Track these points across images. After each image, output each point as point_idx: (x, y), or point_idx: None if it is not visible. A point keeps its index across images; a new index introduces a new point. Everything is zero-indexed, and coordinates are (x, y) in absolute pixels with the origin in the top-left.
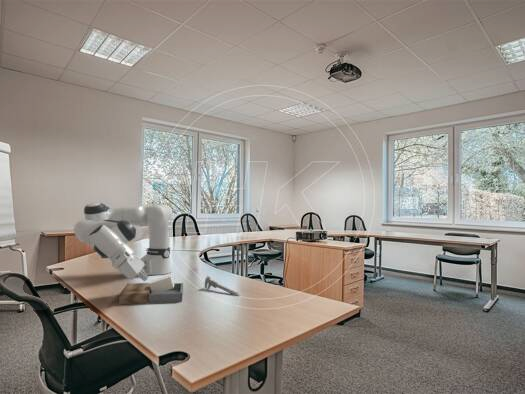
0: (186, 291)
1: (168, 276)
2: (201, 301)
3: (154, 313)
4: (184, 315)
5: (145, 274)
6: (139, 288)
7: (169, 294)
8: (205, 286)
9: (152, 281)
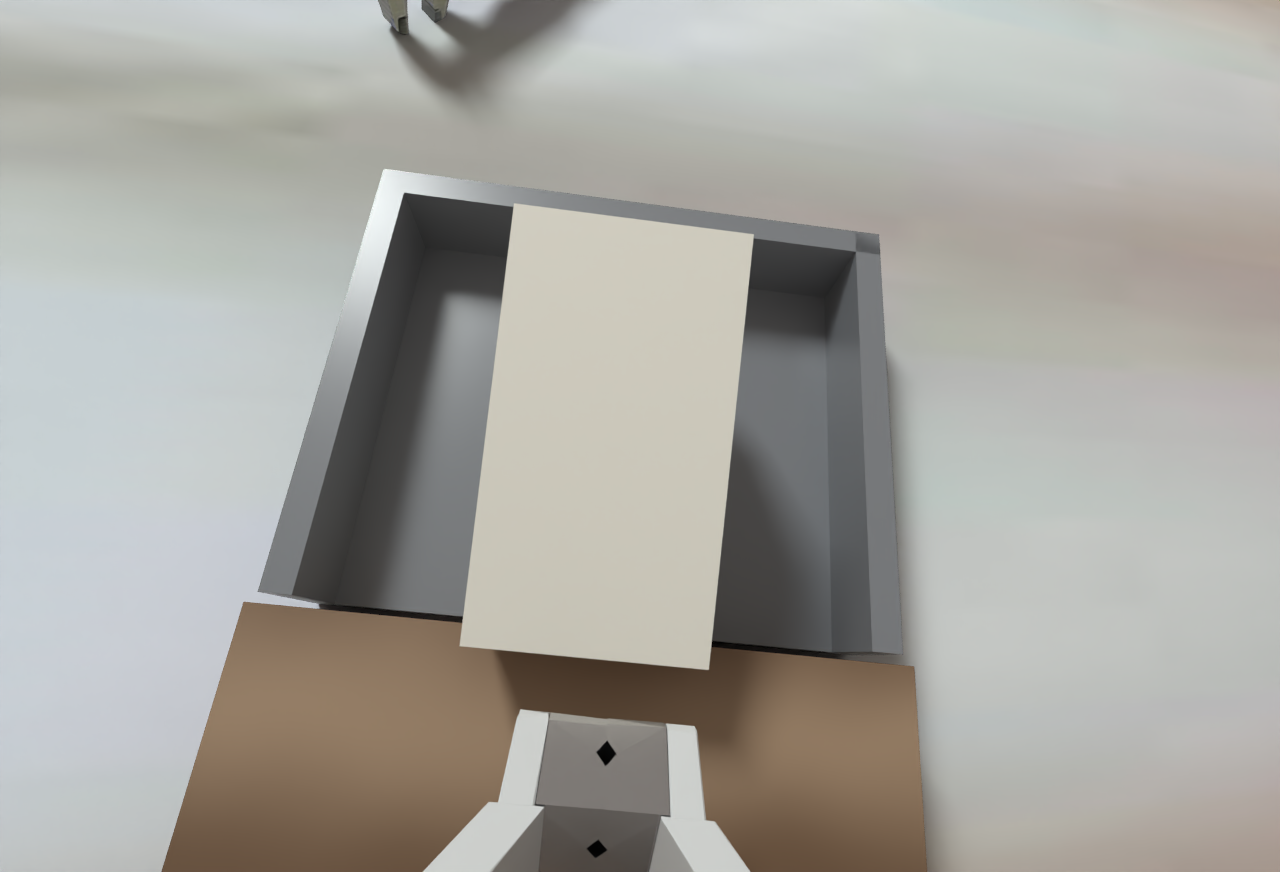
0: None
1: (643, 267)
2: (850, 137)
3: (1201, 578)
4: (1223, 313)
5: (539, 808)
6: None
7: (879, 378)
8: (403, 10)
9: (587, 603)
